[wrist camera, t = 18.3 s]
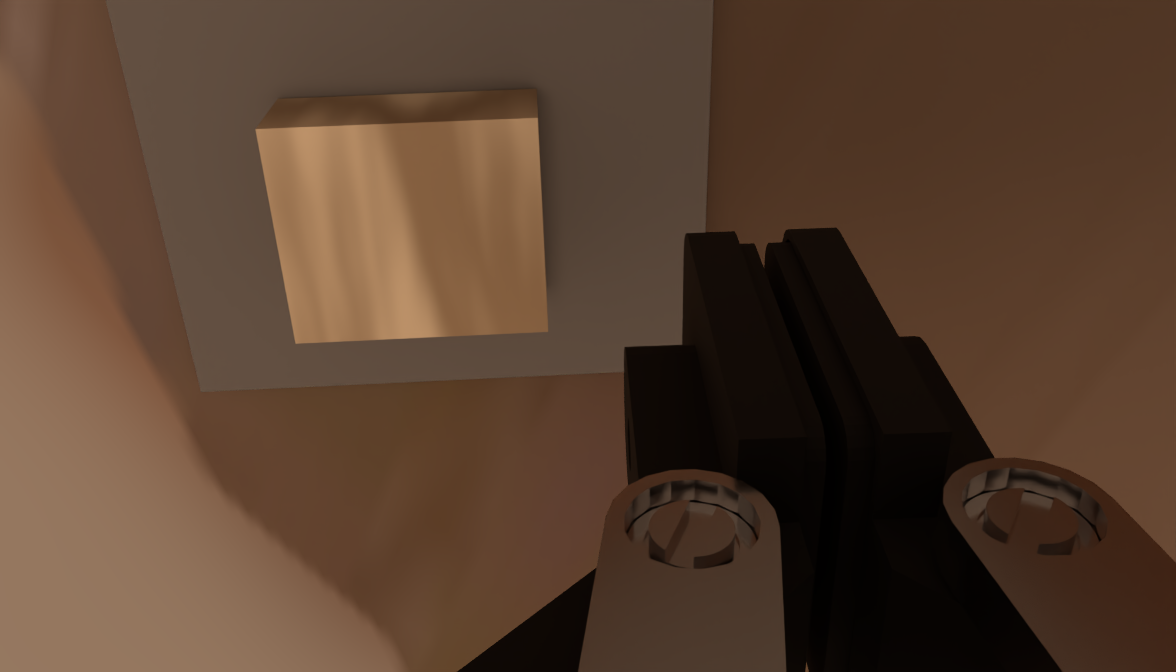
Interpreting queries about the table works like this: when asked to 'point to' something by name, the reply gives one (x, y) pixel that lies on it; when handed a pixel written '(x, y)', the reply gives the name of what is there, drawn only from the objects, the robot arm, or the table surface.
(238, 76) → the rubber mat
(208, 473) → the table surface
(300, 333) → the birch tile
